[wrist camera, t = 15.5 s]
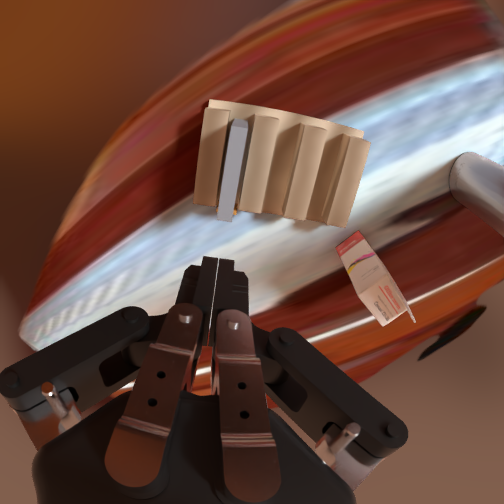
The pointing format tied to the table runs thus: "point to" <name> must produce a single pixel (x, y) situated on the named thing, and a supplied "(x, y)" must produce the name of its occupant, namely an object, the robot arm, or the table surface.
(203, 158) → the rack
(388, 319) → the ink cartridge box
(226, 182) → the panel
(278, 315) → the table surface
